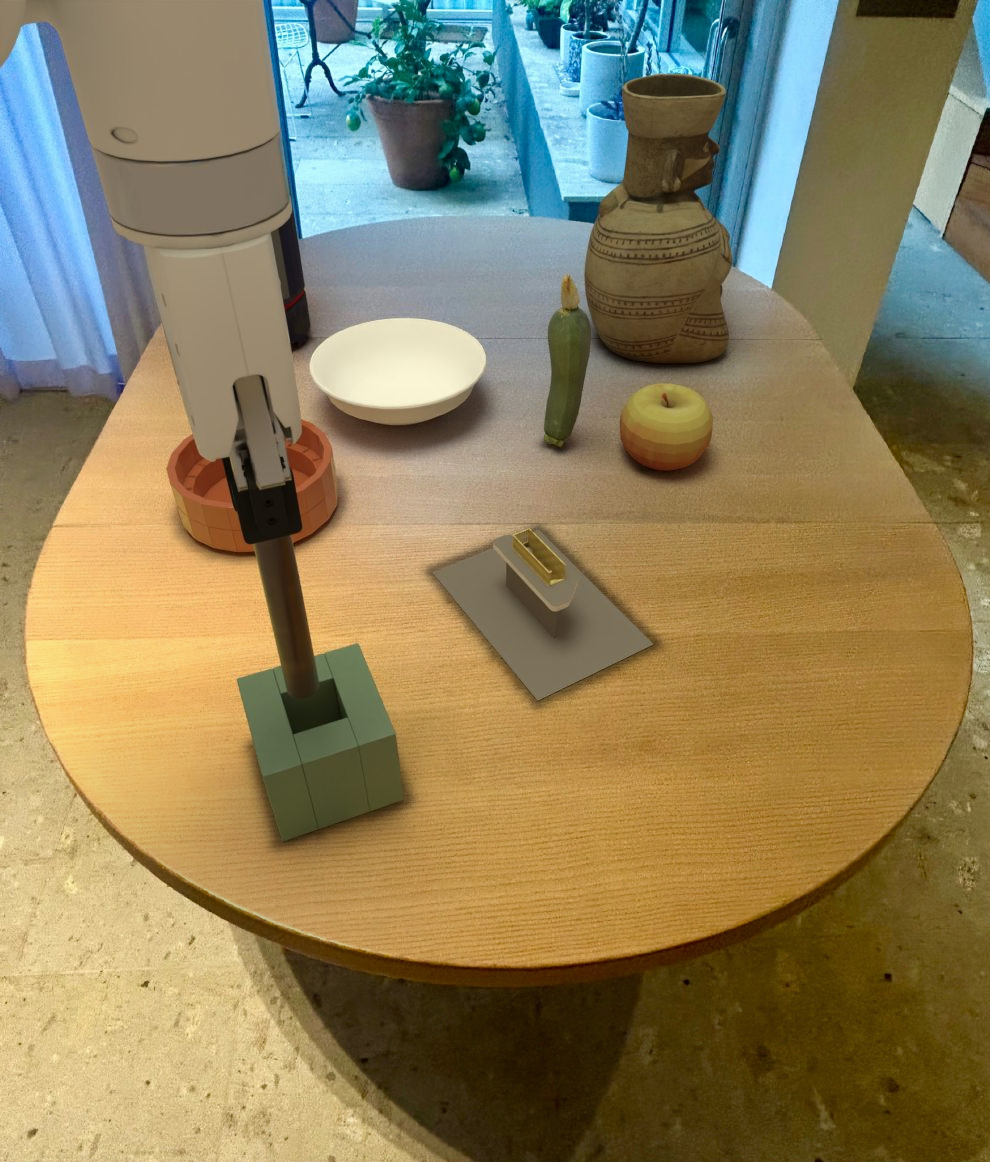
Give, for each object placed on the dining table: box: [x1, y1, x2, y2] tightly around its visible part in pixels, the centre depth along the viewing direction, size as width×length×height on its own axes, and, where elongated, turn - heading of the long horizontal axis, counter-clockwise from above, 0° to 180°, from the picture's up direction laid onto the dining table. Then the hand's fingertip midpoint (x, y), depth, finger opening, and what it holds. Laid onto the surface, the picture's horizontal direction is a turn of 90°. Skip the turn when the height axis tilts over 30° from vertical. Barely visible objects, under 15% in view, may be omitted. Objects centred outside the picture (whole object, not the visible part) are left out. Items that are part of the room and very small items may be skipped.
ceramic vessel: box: [583, 73, 733, 364], centre depth 106 cm, size 19×21×30 cm
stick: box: [240, 449, 319, 699], centre depth 53 cm, size 2×2×20 cm
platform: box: [431, 528, 654, 702], centre depth 77 cm, size 12×18×7 cm, turn 31°
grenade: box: [271, 137, 311, 347], centre depth 105 cm, size 14×12×30 cm
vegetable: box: [543, 274, 592, 448], centre depth 91 cm, size 4×4×20 cm
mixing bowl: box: [165, 418, 339, 553], centre depth 88 cm, size 16×16×6 cm
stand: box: [236, 642, 404, 842], centre depth 64 cm, size 9×9×8 cm
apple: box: [619, 382, 714, 471], centre depth 94 cm, size 10×10×8 cm
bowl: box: [308, 317, 488, 426], centre depth 101 cm, size 20×20×6 cm
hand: (267, 518), depth 50 cm, fingers closed on stick, 2 cm apart
